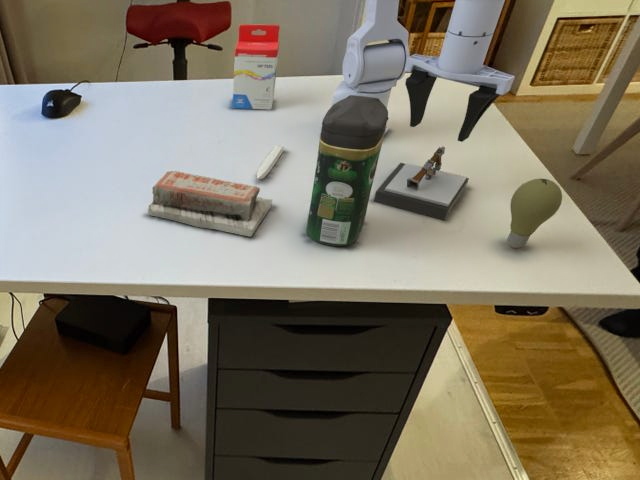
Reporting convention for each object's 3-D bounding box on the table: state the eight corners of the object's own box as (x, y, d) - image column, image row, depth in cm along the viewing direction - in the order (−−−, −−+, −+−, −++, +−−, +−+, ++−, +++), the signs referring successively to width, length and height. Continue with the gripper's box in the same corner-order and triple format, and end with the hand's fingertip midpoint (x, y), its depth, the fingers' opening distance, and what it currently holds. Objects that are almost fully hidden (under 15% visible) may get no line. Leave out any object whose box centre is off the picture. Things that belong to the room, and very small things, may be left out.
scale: (373, 201, 87) (376, 188, 85) (397, 172, 93) (401, 159, 91) (444, 220, 82) (449, 206, 80) (465, 188, 88) (470, 175, 86)
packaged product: (143, 189, 84) (171, 161, 90) (146, 216, 88) (172, 187, 94) (254, 210, 78) (275, 178, 84) (252, 239, 82) (272, 206, 88)
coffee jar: (316, 209, 86) (336, 86, 73) (367, 219, 83) (398, 93, 70) (298, 241, 80) (316, 115, 67) (352, 253, 78) (383, 123, 64)
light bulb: (484, 237, 78) (512, 172, 71) (522, 233, 79) (554, 168, 71) (504, 259, 75) (536, 194, 67) (544, 255, 75) (580, 189, 67)
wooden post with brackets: (447, 166, 87) (449, 144, 83) (416, 201, 86) (417, 182, 82) (437, 162, 88) (438, 141, 84) (406, 197, 87) (406, 178, 83)
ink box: (231, 109, 115) (234, 31, 105) (234, 100, 119) (237, 23, 108) (272, 110, 114) (279, 31, 103) (274, 100, 117) (281, 23, 106)
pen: (252, 184, 93) (252, 175, 92) (276, 149, 101) (277, 140, 100) (261, 186, 92) (261, 177, 91) (285, 150, 101) (286, 142, 100)
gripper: (540, 32, 70) (499, 136, 80) (434, 14, 78) (409, 110, 88) (515, 47, 67) (475, 153, 77) (408, 26, 75) (384, 125, 85)
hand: (438, 131), depth 82 cm, fingers open, 7 cm apart
